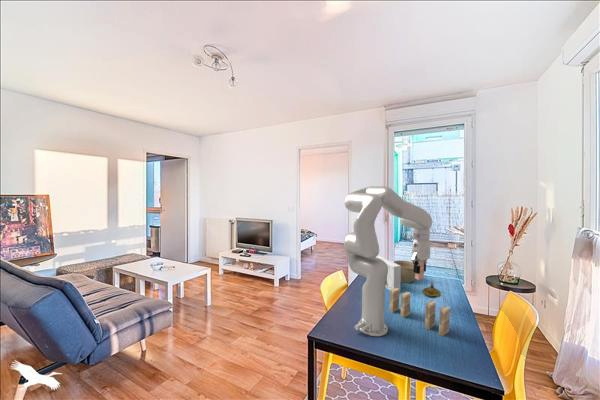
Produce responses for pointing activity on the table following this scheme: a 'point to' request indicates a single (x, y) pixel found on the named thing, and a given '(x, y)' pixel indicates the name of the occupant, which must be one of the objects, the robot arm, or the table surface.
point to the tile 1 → (405, 304)
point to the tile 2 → (421, 275)
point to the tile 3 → (430, 315)
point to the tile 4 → (444, 320)
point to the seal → (431, 291)
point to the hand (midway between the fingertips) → (419, 271)
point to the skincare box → (392, 274)
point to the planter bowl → (406, 271)
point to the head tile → (394, 300)
